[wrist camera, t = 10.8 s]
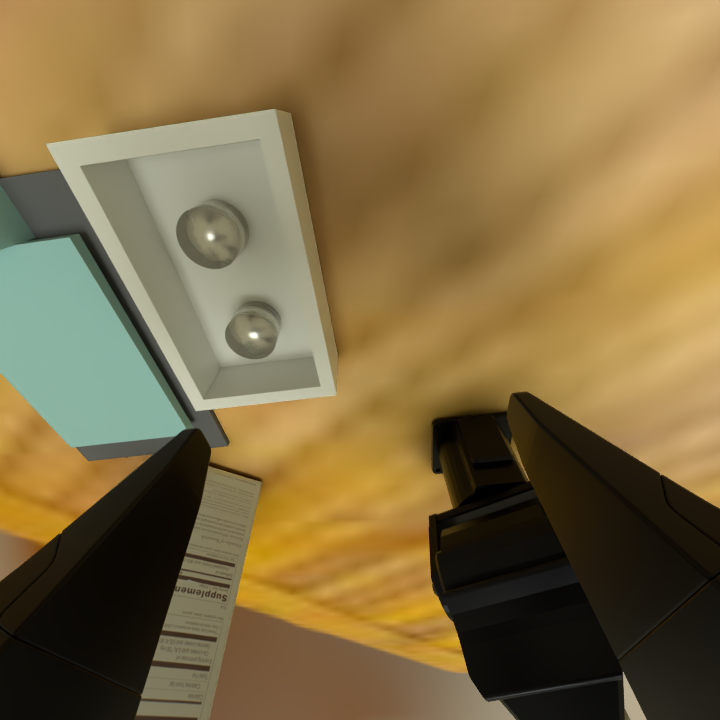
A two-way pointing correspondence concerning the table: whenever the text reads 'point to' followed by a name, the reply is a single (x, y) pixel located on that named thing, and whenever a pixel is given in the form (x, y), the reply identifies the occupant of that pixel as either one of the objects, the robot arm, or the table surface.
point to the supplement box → (202, 603)
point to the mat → (65, 217)
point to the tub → (203, 285)
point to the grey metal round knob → (212, 234)
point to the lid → (75, 343)
